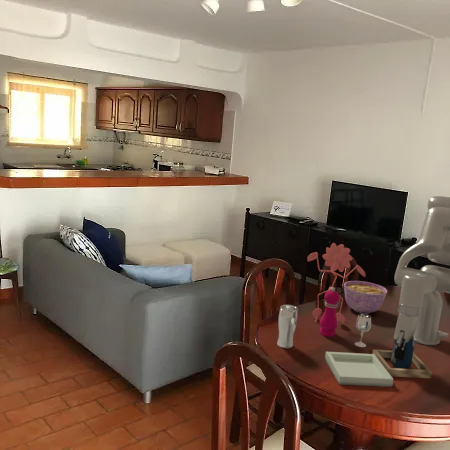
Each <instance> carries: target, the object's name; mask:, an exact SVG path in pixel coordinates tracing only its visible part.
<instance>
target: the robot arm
mask: <svg viewBox="0 0 450 450" xmlns="http://www.w3.org/2000/svg"><path fill="white" fill-rule="evenodd" d="M422 255H427V258H428V260H429V261H431V262H432V263H433V262H434V263H437V264H441V265H446V266H450V197H449V196H443V195H441V196H440V195H435V196H432V197H430V198H429V199H428V201H427V212H426V214H425V218H424V222H423V225H422V228H421V232H420V234H419V238H418V241H417V242H416V243H414V244H413V245H411V246H410V247H409V248H407V249H406V250H405V251H404V252H403V253H402V254H401V256H400V257H399V260H398V262H397V263H398V264H397V267H396V270H395V273H394V284H396V286H398V287H400V288H401V289H400V296H399V303H398V308H397V312H398V313H399V314H398V317H397V321H396V326H395V330H394V335H393V340H394V339H395V340H396V339H397V338H398V339H397V344H396V348H395V355H394V358H396V359H399V360H402V361H403V360H404V354H405V350H404V349H405V345H406V343H407V342H409V340H410V339H411V338H412V337H413V336H414V341H415V343H418V344H422V345H425V346H438V345H439V344H440V343H441V339H440V338H449V335H450V334H449V333H448V332H443V331H442V330H439V325H440V320H441V315H442V308H443V297H442V295H441V294H440V292H442V293H443V292H444V293H447V294H450V268H447V267H443V266H439V265H432V264H428V265H424V266H422V267H421V268H420V269H415V268H412V267H411V268H410V267H407V266H408V265H409V263H410V262H411V260H413V259H414V258H417V257H419V256H422ZM398 336H399V337H398ZM402 339H404V340H405V341H403V340H402ZM401 342H403V343H404V344H403V345H402V344H401ZM437 344H438V345H437Z"/></svg>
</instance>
